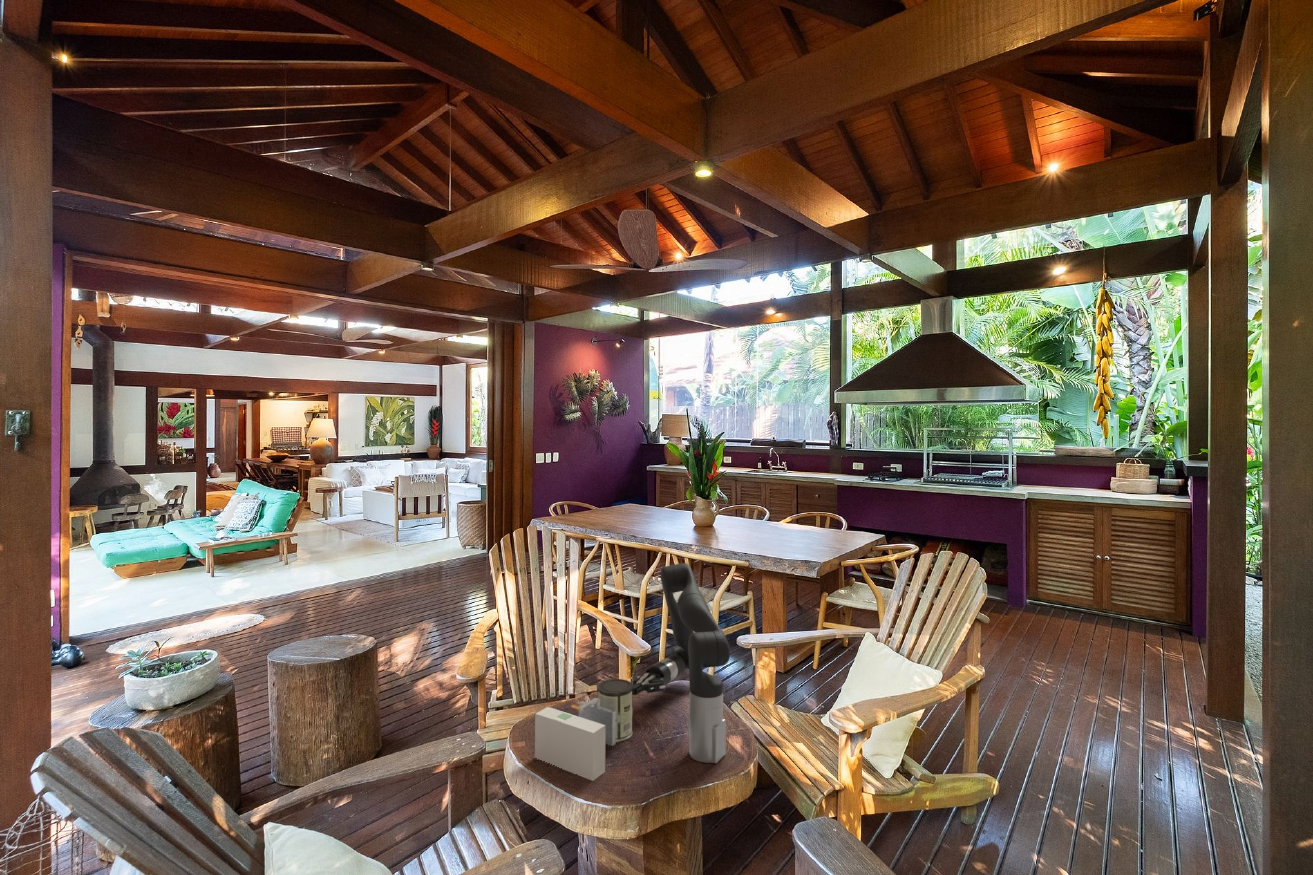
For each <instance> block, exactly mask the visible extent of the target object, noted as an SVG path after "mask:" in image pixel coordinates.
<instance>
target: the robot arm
mask: <svg viewBox="0 0 1313 875" xmlns="http://www.w3.org/2000/svg"><path fill="white" fill-rule="evenodd" d="M660 580H661V586H662V591H663V594H664V598H665V603H666V606H667V610H668V614H669V617H670V621H671V622H670V623H671V627H672V634H673V635H672V636H673V641H674V643H675V645H676V646H675V647H674V648H673V649H672V651H671V653H670V654H669V656H667V657H665V658H663V659H661V660H659V661H657V662H656V663H654V664H652V665H650V666H649V667H648V668H647V669H646V670H645V673H641V674H640V676H639V675H637V674H636V673H631V683H632V684H633V689H632V696H637V695H639V694H640V693H645V692H646V693H647V694H650V693H657V692H663V691H665V690H666V686H667V685H669V684H670V683H671V682H673V681H674V680H675V679H676V678H678V677H679V676H680V675H682V673H683V672H684V671H685V669H686V670H688V672H689V674H688V676H689V677H688V678H689V680H688V682H689V701H688V702H689V715H688V716H689V717H688V718H689V722H688V724H689V725H688V726H689V728H688V730H689V731H688V732H689V733H688V734H689V735H688V736H689V737H688V740H689V742H688V743H689V744H688V748H689V749H688V750H689V756H690V757H691V758H692V760H694V761H696V762H700V763H706V764H709V763H711V764H712V763H713V764H718V762H719V761H720V760H721V759H723V757H724V756H725V755H726V754H727V749H726V748H727V735H726V734H727V720H726V719H725V718H724V683H723V681H722V679H721V678H719V677H717V676H715V675H712V674H710V673H706V672H704V670H703V668H718V667H724V666H725V665H727V664H728V663H729V661H730V657H731V651H730V650H731V648H730V645H729V642H728V639H727V637H726V635H725V633H724V631H723V630H722V629H721V626H719V624H718V623H717V621H716V620H715V618H714V617H713V614H712V611H710V608H709V605H708V603H707V601H706V599H705V598H704V596H703V593H702V591H701V590H700V588H699V585H698V583H697V580H696V577H695V575H694V571H693V570H692V567H691V566H690V565H689V563H686V562H685V563H684V562H682V563H681V562H680V563H676V564H671V565H667V566H663V567H662V568H661V569H660ZM679 592H681V593H680V594H679V597H678V599H676V598H675V596H674V594H675V593H679ZM676 600H677V601H676Z"/></svg>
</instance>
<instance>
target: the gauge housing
mask: <svg viewBox="0 0 1313 875" xmlns="http://www.w3.org/2000/svg"><path fill="white" fill-rule="evenodd" d="M534 715H535V716H534V718H535V719H534V720H535V721H534V759H535V758H537V759H536V760H538V759H540V760H542V761H541V762H543V761H545V762H544V763H546V762H547V763H546V764H548V763H550V764H549V765H551V764H552V765H551V766H553V765H555V766H554V767H556V766H557V767H556V768H558V767H559V769H561V768H562V769H561V770H563V771H566V772H569V773H571V774H575V775H576V774H577V776H580V777H582V778H585V779H586V780H589V781H591V782H594V781H595V780H596V779H598V778H599V777H600V776H602V775H603V774H605V772H606V744H605V725H603V724H600V723H597V722H594V721H591V720H588V719H584V718H581V717H579V715H578V716H577V715H574V714H572V713H568V712H565V711H562V710H559V709H556V708H554V707H550V706H547V707H544V708H543V709H541V710H540V711H538V712H535V714H534ZM540 760H539V761H540Z"/></svg>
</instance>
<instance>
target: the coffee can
mask: <svg viewBox="0 0 1313 875" xmlns="http://www.w3.org/2000/svg"><path fill="white" fill-rule="evenodd" d="M632 689H633V684H632V681H629V680H627V679H622V678H612V679H605V680H603V681H602V682H600V683H598V686H597V692H598V695H597V698H598V699H600V706H601V707H604V708H608V709H611V710H614V711H616V743H618V742H624V741H626V740H628V739H630V738H631V737H632V736H633V733H634V732H633V695H632Z"/></svg>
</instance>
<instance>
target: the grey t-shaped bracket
mask: <svg viewBox="0 0 1313 875" xmlns="http://www.w3.org/2000/svg"><path fill="white" fill-rule="evenodd" d="M571 708H573V709H575V710H577V711H578V717H581V718H584V719H588V720H591V721H594V722H597V723H600V724H603V725H605V745H608V746H612V747H613V746H615V745H616V743H617V742H616V711H614V710H611V709H608V708H604V707H601V706H600V699H598V697H594V698H592V699H591V700H589V701H584V700H581V701H579V702H578V705H575V704H571Z"/></svg>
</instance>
